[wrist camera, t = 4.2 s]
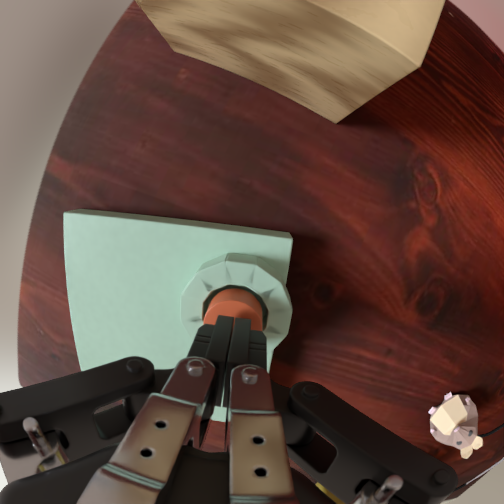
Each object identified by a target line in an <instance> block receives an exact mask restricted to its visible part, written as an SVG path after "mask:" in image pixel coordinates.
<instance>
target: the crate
mask: <svg viewBox="0 0 504 504" xmlns="http://www.w3.org/2000/svg"><path fill="white" fill-rule="evenodd" d="M135 1H136V2H137V4H138V5H139V6H140V7H141V9H142V10H143V11H144V12H145V14H146V15H147V16H148V17H149V19H150V20H151V21H152V23H153V24H154V25H155V26H156V28H157V29H158V30H159V32H160V33H161V34H162V36H163V37H164V38H165V40H166V41H167V42H168V44H169V45H170V46H171V48H172V49H173V50H174V51H175V52H178V53H181V54H184V55H187V56H190V57H193V58H196V59H199V60H202V61H204V62H207V63H210V64H213V65H215V66H218V67H220V68H223V69H226V70H228V71H231V72H233V73H235V74H238V75H240V76H243V77H245V78H247V79H249V80H252V81H254V82H256V83H258V84H261V85H263V86H265V87H267V88H269V89H271V90H273V91H276V92H278V93H280V94H282V95H284V96H286V97H288V98H290V99H292V100H294V101H295V102H297V103H299V104H301V105H303V106H305V107H307V108H309V109H310V110H312V111H314V112H316V113H318V114H319V115H321V116H323V117H325V118H326V119H328V120H330V121H332V122H333V123H335V124H337V123H338V122H339V121H341V120H342V119H344V118H345V117H346V116H348V115H349V114H351V113H352V112H353V111H355V110H356V109H358V108H359V107H361V106H362V105H363V104H365V103H366V102H368V101H369V100H371V99H372V98H374V97H375V96H377V95H378V94H380V93H381V92H383V91H384V90H386V89H387V88H389V87H390V86H392V85H393V84H395V83H396V82H398V81H399V80H401V79H402V78H404V77H405V76H407V75H408V74H410V73H412V72H413V71H415V70H416V69H418V68H419V67H421V65H422V62H423V60H424V57H425V55H426V52H427V50H428V47H429V45H430V42H431V39H432V37H433V34H434V31H435V29H436V26H437V23H438V20H439V18H440V15H441V12H442V9H443V6H444V3H445V0H135Z"/></svg>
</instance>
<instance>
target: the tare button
mask: <svg viewBox="0 0 504 504" xmlns="http://www.w3.org/2000/svg"><path fill="white" fill-rule="evenodd" d="M218 315H224V316H231V317H234V322H235V317H239V318H247V319H251V330H257V331H262V307H261V305H260V303H259V301H258V300H257V298H256V297H255V296H254V295H252V294H251V293H249V292H247V291H245V290H242V289H236V288H233V289H226V290H223V291H221V292H219V293H218V294H217V295H215V296H214V298H213V299H212V300H211V302H210V304H209V307H208V309H207V312H206V314H205V317H204V322H203V325H204V324H205V323H206V324H213V325H215V323H216V320H217V317H218ZM233 328H234V325H233Z"/></svg>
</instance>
